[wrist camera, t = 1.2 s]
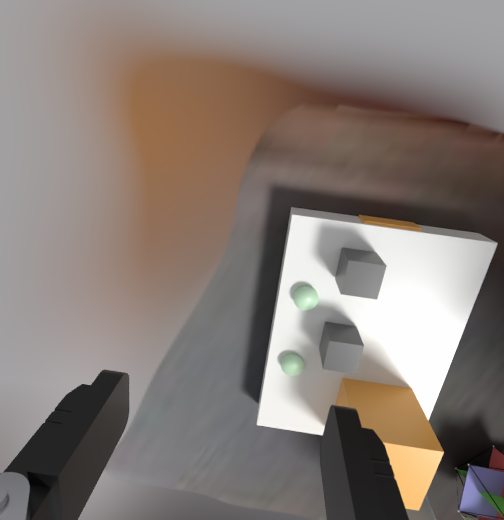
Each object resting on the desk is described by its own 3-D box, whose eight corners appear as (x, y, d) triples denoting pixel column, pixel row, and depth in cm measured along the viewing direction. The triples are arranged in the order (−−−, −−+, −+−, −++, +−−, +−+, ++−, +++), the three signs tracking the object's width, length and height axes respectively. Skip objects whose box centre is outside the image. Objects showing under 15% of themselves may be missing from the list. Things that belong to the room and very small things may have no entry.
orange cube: (411, 388, 28) (444, 452, 23) (393, 440, 30) (418, 510, 25) (342, 377, 28) (357, 438, 23) (328, 429, 30) (339, 497, 25)
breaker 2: (356, 326, 27) (364, 345, 24) (349, 352, 27) (356, 374, 25) (325, 321, 27) (329, 340, 24) (319, 347, 28) (322, 369, 25)
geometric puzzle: (483, 433, 30) (501, 553, 26) (562, 451, 30) (593, 574, 25) (435, 440, 36) (443, 538, 32) (501, 455, 36) (518, 555, 32)
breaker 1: (376, 252, 24) (386, 265, 22) (368, 283, 25) (377, 299, 23) (341, 247, 25) (348, 260, 22) (334, 278, 25) (340, 294, 23)
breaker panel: (479, 230, 26) (503, 242, 23) (406, 427, 33) (418, 455, 30) (291, 204, 26) (292, 213, 24) (258, 404, 33) (256, 429, 30)
